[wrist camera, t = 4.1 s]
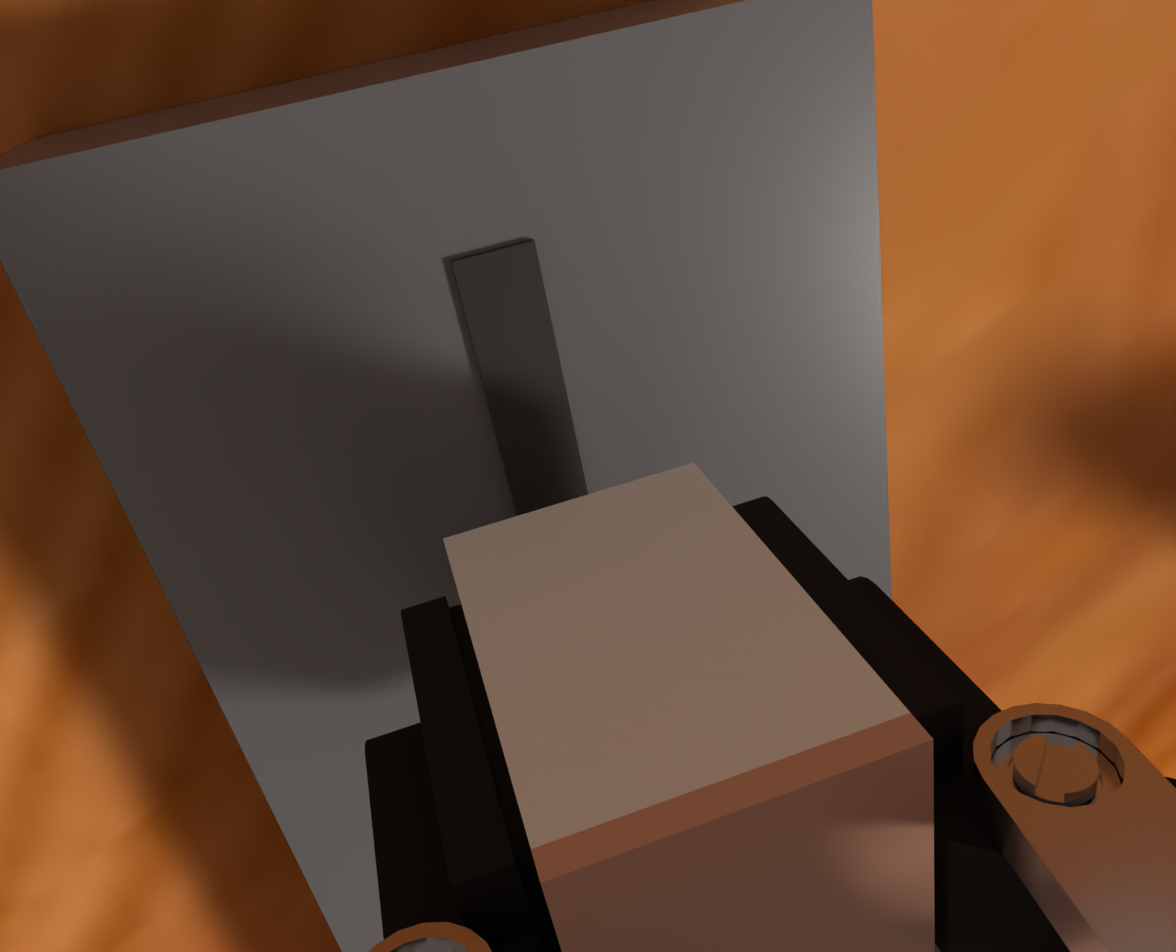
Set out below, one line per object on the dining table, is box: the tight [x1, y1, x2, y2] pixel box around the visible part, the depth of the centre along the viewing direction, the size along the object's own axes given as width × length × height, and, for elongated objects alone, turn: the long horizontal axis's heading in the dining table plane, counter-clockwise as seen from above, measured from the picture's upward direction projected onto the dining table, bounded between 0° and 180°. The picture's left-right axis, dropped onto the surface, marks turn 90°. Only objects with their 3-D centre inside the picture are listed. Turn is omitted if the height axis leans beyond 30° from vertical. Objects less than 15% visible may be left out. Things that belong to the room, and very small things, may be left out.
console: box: [0, 0, 891, 952], centre depth 18 cm, size 26×10×3 cm, turn 11°
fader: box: [443, 462, 935, 952], centre depth 10 cm, size 4×3×6 cm
